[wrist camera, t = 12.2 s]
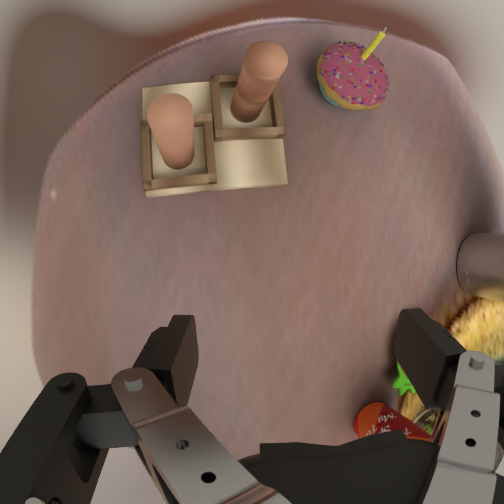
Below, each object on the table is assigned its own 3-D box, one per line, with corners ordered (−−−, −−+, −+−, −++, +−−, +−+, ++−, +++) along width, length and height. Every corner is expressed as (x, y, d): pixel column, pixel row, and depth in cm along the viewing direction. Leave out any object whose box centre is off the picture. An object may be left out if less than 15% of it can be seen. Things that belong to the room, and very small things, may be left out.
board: (272, 84, 33) (304, 25, 21) (284, 185, 34) (329, 160, 22) (143, 92, 31) (123, 31, 19) (147, 197, 32) (120, 176, 20)
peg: (193, 138, 31) (192, 91, 20) (195, 168, 31) (194, 132, 20) (161, 141, 31) (147, 95, 20) (163, 171, 31) (147, 137, 20)
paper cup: (362, 390, 37) (424, 445, 23) (403, 398, 38) (465, 444, 24) (336, 439, 37) (384, 503, 23) (378, 443, 38) (430, 497, 24)
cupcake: (305, 54, 34) (343, -2, 22) (367, 70, 35) (417, 26, 23) (304, 115, 34) (349, 67, 22) (370, 128, 36) (429, 94, 24)
